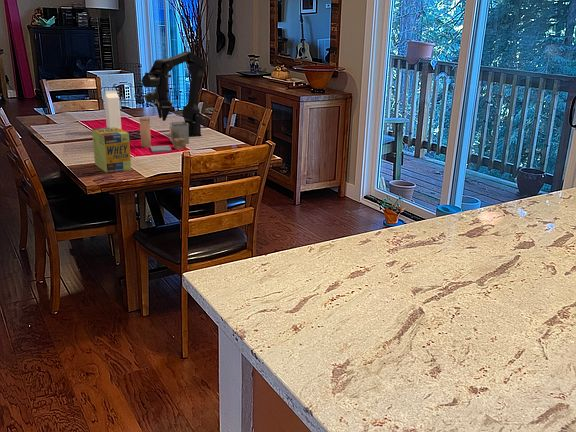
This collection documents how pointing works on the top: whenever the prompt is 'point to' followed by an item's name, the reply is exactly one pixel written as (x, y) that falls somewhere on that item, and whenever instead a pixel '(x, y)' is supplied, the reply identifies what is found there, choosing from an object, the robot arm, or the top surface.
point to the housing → (179, 131)
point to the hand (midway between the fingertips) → (162, 119)
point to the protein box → (111, 149)
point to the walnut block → (179, 143)
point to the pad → (160, 148)
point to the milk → (112, 109)
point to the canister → (145, 132)
